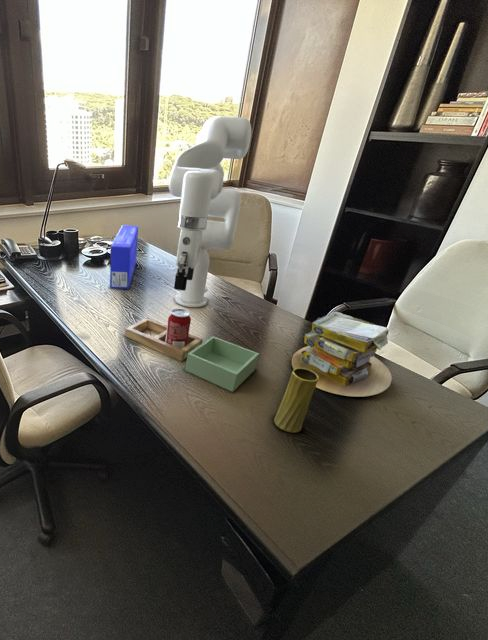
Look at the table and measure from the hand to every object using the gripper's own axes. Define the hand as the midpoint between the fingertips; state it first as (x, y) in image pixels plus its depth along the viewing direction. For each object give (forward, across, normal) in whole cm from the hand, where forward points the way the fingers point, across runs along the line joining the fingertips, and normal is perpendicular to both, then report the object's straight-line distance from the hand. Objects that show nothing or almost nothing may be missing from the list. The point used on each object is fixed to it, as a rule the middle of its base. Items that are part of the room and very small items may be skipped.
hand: (183, 284), depth 107 cm
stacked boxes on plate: (+21, +6, -47) cm, 52 cm away
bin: (+21, -7, -15) cm, 27 cm away
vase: (+21, -24, -33) cm, 46 cm away
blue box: (+20, +57, +37) cm, 71 cm away
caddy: (+21, +2, +4) cm, 21 cm away
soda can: (+21, 0, 0) cm, 21 cm away
